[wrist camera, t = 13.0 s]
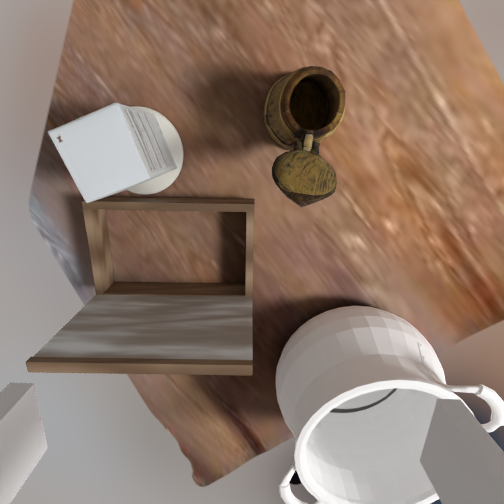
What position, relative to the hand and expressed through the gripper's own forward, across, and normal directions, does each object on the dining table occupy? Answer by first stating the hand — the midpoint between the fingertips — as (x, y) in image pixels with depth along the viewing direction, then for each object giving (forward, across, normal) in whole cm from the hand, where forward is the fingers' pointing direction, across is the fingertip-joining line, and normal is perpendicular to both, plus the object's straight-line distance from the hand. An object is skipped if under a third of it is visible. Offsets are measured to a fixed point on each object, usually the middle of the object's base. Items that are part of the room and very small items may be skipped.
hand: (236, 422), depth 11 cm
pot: (+37, +18, -25) cm, 48 cm away
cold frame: (+36, -10, -6) cm, 38 cm away
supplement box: (+36, -14, +7) cm, 39 cm away
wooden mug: (+36, +6, +11) cm, 38 cm away
